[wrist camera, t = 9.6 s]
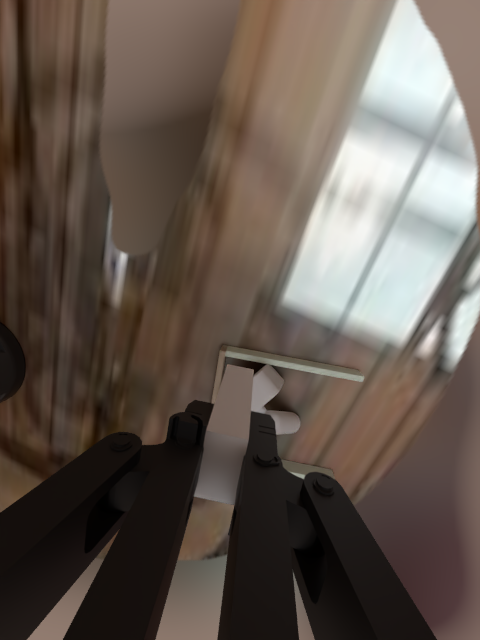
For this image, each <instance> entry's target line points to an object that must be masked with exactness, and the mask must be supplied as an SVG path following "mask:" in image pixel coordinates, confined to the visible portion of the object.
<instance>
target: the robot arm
mask: <svg viewBox="0 0 480 640" xmlns="http://www.w3.org/2000/svg"><path fill="white" fill-rule="evenodd" d="M24 374H25V361H24V356H23V353H22V350H21V348H20V345H19V344H18V342H17V340H16V339H15V337H14V336H13V334H12V333H11V332H10V331H9V330H8V329H7V328H6V327H5V326H4V325H2V324H1V323H0V403H1V402H3V401H4V400H6V399H8V398H10V397H11V396H12V395H14V394H15V393H16V392H17V390H18V389H19V388H20V386H21V384H22V382H23V379H24ZM253 375H254V369H249V368H244V367H239V366H234V365H229V364H227V367H226V370H225V373H224V376H223V379H222V382H221V386H220V389H219V392H218V395H217V398H216V401H215V404H212V403H207V402H203V401H198V400H194V401H193V402H191V403H190V404H188V406H187V408H186V410H185V412H180V413H177V414H174V415H172V416H171V417H170V419H169V425H168V432H167V438H166V441H165V442H164V443H162V444H158V445H142V441H141V439H140V438H139V437H138V436H137V435H135V434H132V433H128V432H118V433H113V434H110V435H108V436H106V437H105V438H103V439H102V440H100V441H99V442H98V443H96V444H95V445H94V446H92V447H91V448H89V449H88V450H87V451H85V452H84V453H82V454H81V455H80V456H78V457H77V458H76V459H74V460H73V461H71V462H70V463H69V464H67V465H66V466H64V467H63V468H62V469H60V470H59V471H58V472H56V473H55V474H53V475H52V476H51V477H49V478H48V479H47V480H45V481H44V482H42V483H41V484H40V485H38V486H37V487H35V488H34V489H33V490H31V491H30V492H29V493H27V494H26V495H24V496H23V497H22V498H20V499H19V500H17V501H16V502H15V503H13V504H12V505H11V506H9V507H8V508H6V509H5V510H4V511H2V512H1V513H0V640H27V639H28V637H29V636H30V635H31V634H32V633H33V631H34V630H35V629H36V628H37V627H38V626H39V624H40V623H41V622H42V621H43V620H44V618H45V617H46V616H47V615H48V613H49V612H50V611H51V610H52V609H53V608H54V606H55V605H56V604H57V603H58V602H59V601H60V599H61V598H62V597H63V596H64V595H65V593H66V592H67V591H68V590H69V589H70V587H71V586H72V585H73V584H74V583H75V581H76V580H77V579H78V578H79V577H80V575H81V574H82V573H83V572H84V571H85V570H86V568H87V567H88V566H89V565H90V563H91V562H92V561H93V560H94V559H95V558H96V556H97V555H98V554H99V553H100V552H101V550H102V549H103V548H104V547H105V546H106V544H107V543H108V542H109V541H110V540H111V539H112V537H113V536H114V535H115V534H116V533H117V531H118V530H119V529H120V530H119V532H118V534H117V536H116V538H115V540H114V541H113V543H112V545H111V547H110V549H109V551H108V553H107V555H106V557H105V559H104V561H103V563H102V565H101V567H100V569H99V571H98V573H97V574H96V577H95V578H94V580H93V582H92V584H91V586H90V588H89V590H88V592H87V594H86V596H85V598H84V600H83V602H82V604H81V606H80V607H79V609H78V611H77V613H76V615H75V617H74V619H73V621H72V623H71V625H70V627H69V629H68V631H67V633H66V635H65V637H64V638H63V640H155V639H156V635H157V631H158V628H159V624H160V621H161V617H162V614H163V609H164V606H165V603H166V599H167V595H168V592H169V588H170V585H171V580H172V577H173V573H174V570H175V566H176V563H177V559H178V556H179V552H180V548H181V545H182V541H183V537H184V534H185V530H186V527H187V523H188V519H189V516H190V512H191V508H192V503H193V498H194V497H199V498H204V499H208V500H213V501H217V502H222V503H226V504H231V505H234V504H235V506H234V511H233V515H232V520H231V524H230V529H229V533H228V535H230V538H229V547H228V555H227V564H226V572H225V581H224V589H223V597H222V606H221V615H220V622H219V632H218V640H299V635H298V625H297V613H296V602H295V592H294V581H293V572H294V575H295V578H296V581H297V584H298V587H299V591H300V594H301V597H302V600H303V603H304V607H305V610H306V613H307V616H308V619H309V622H310V626H311V628H312V632H313V635H314V638H315V640H437V639H436V637H435V636H434V634H433V632H432V631H431V629H430V628H429V626H428V624H427V623H426V621H425V620H424V618H423V616H422V615H421V613H420V612H419V610H418V609H417V607H416V605H415V604H414V602H413V600H412V599H411V597H410V596H409V594H408V592H407V591H406V589H405V588H404V586H403V584H402V583H401V581H400V579H399V578H398V576H397V575H396V573H395V572H394V570H393V568H392V567H391V565H390V563H389V562H388V560H387V559H386V557H385V555H384V554H383V552H382V550H381V549H380V547H379V546H378V544H377V543H376V541H375V539H374V538H373V536H372V534H371V533H370V531H369V530H368V528H367V526H366V525H365V523H364V522H363V520H362V518H361V517H360V515H359V514H358V512H357V510H356V509H355V507H354V506H353V504H352V502H351V501H350V499H349V497H348V496H347V494H346V493H345V491H344V489H343V488H342V486H341V485H340V484H339V483H338V482H337V481H336V480H335V479H333V478H332V477H331V476H328V475H326V474H324V473H320V472H309V473H308V474H306V475H305V477H304V479H302V478H300V477H298V476H296V475H294V474H292V473H290V472H289V471H287V470H286V469H285V468H284V467H283V463H282V461H281V458H280V457H279V456H278V453H277V440H276V427H275V421H274V419H273V418H272V417H271V415H268V414H264V413H259V412H254V411H251V402H252V388H253ZM292 569H293V570H292Z"/></svg>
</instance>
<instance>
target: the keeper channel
mask: <svg viewBox="0 0 480 640" xmlns="http://www.w3.org/2000/svg"><path fill="white" fill-rule="evenodd" d="M226 356H227V357H232V358H237V359H243V360H248V361H253V362H259V363H264V364H269V365H275V366H280V367H285V368H291V369H296V370H301V371H306V372H312V373H317V374H322V375H328V376H333V377H338V378H344V379H349V380H354V381H360V382H363V379H364V376H363V375H362V373H361V372H360V371H359V370H356V369H351V368H345V367H340V366H335V365H329V364H324V363H319V362H313V361H308V360H303V359H297V358H292V357H286V356H281V355H276V354H270V353H265V352H260V351H254V350H249V349H244V348H238V347H233V346H228V345H222V347H221V349H220V353H219V359H218V365H217V371H216V378H215V384H214V390H213V396H212V404H215V401H216V398H217V395H218V392H219V389H220V386H221V382H222V379H223V374H224V368H225V362H226ZM281 461H282V463H283V467H284V468H285V469H286V470H287V471H289V472H290V473H292V474H294V475H296V476H298V477H300V478H302V479H304V477H305V475H306V474H308V473H309V472H320V473H324V474H326V475H328V476H331V477H332V478H333V479H335V478H334V475H333V472H332V470H331V469H326V468H321V467H317V466H312V465H307V464H302V463H297V462H292V461H287V460H282V459H281Z"/></svg>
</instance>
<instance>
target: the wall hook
mask: <svg viewBox="0 0 480 640" xmlns="http://www.w3.org/2000/svg"><path fill="white" fill-rule="evenodd" d="M283 383H284V380H283V378H282V377H281V376H280V375H279V374H278V373H277V371H276V370H275V369H274V368H273V367H272V365H269V364H266V365H265V366H264V367H262V368H261V369H260V370H259V371H258V372H256V373H255V374H254V375H253V388H252V402H251V411H254V412H259V413H264V414H268V415H271V417H272V418H273V419H274V421H275V427H276V434H290V433H295V432H297V431H298V429H299V427H300V419H299V417H298V416H297V415H296V414H295V413H293V412H285V411H274V410H268V411H267V410H266V408H265V407H264V405H265V404H266V403H267V402H269V401H270V400H271V399H272V398H273V397H274V396H276V395H277V394H278V392H279V391H280V389H281V387H282V385H283Z"/></svg>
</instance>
